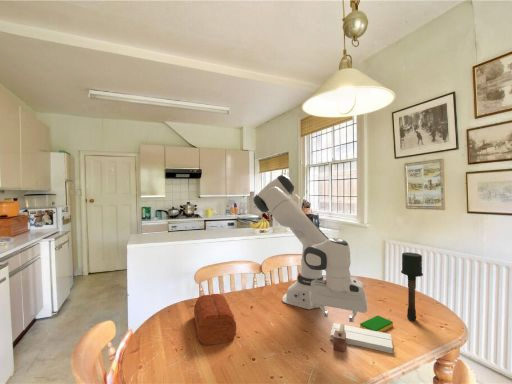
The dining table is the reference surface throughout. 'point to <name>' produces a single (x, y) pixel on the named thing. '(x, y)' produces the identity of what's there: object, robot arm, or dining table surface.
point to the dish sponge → (377, 324)
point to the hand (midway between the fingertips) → (338, 319)
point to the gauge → (339, 339)
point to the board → (365, 338)
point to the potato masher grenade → (411, 279)
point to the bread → (214, 320)
